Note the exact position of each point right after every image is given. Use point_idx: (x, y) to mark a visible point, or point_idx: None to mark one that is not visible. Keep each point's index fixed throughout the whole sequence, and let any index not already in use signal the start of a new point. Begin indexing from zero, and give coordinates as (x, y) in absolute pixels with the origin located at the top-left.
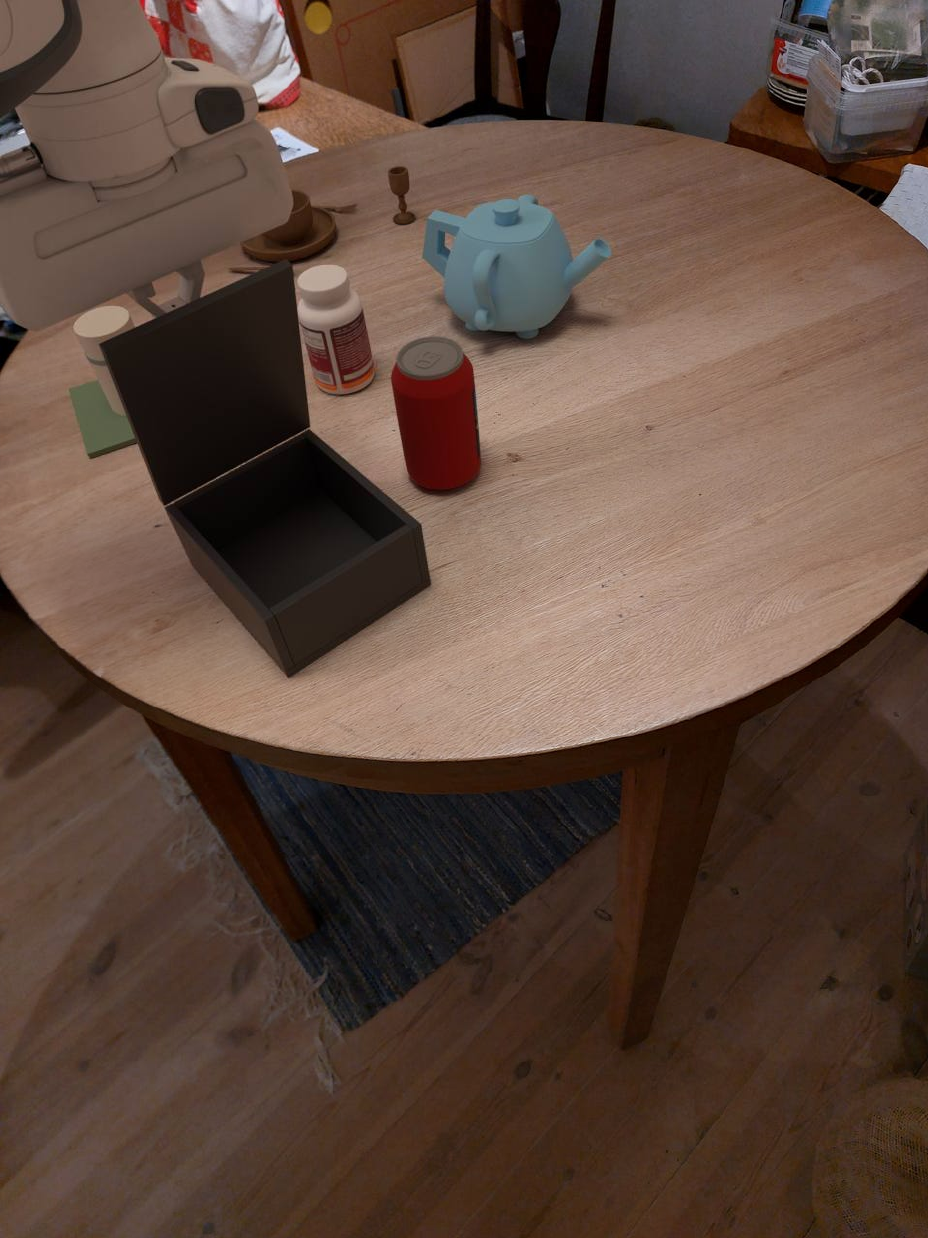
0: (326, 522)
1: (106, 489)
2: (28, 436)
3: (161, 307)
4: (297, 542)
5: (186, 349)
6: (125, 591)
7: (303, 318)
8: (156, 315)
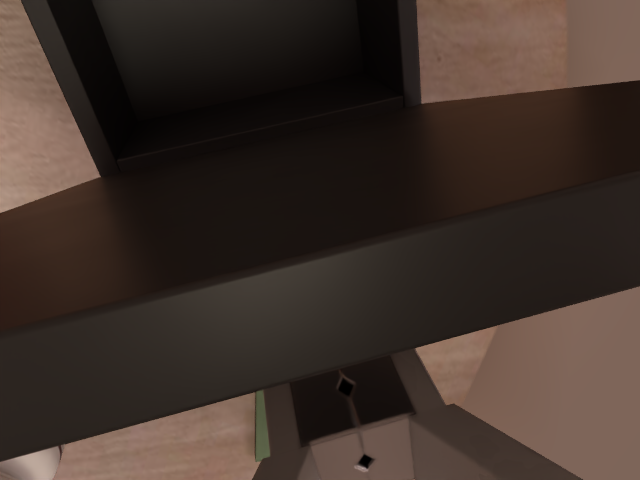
0: (148, 37)
1: None
2: (449, 393)
3: (408, 465)
4: (211, 17)
5: (448, 149)
6: (467, 84)
7: (45, 451)
8: (467, 419)
